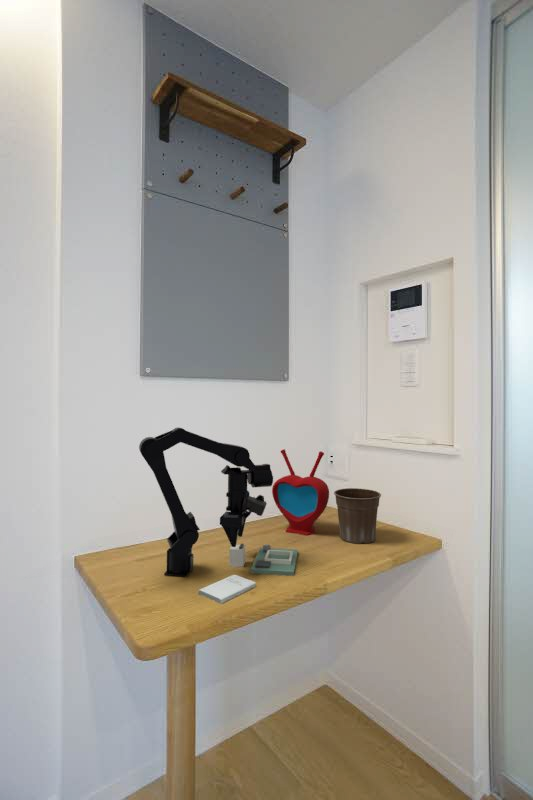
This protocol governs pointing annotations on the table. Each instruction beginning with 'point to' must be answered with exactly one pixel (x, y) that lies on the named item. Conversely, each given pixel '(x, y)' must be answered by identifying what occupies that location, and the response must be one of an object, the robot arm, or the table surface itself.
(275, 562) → the board
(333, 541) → the table surface
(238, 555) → the plug
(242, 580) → the external hard drive
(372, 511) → the plant pot
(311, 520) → the novelty television
